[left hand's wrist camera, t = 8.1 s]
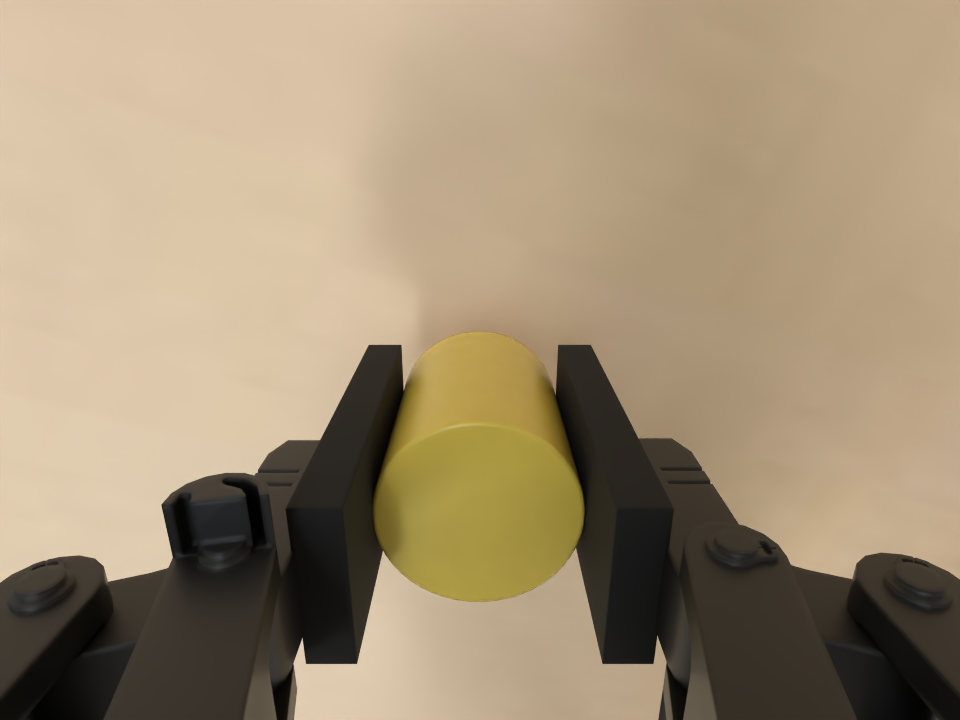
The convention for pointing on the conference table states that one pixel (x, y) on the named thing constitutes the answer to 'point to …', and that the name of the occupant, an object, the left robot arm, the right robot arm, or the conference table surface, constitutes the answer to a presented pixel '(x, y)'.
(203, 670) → the left robot arm
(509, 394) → the canister
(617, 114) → the conference table surface
